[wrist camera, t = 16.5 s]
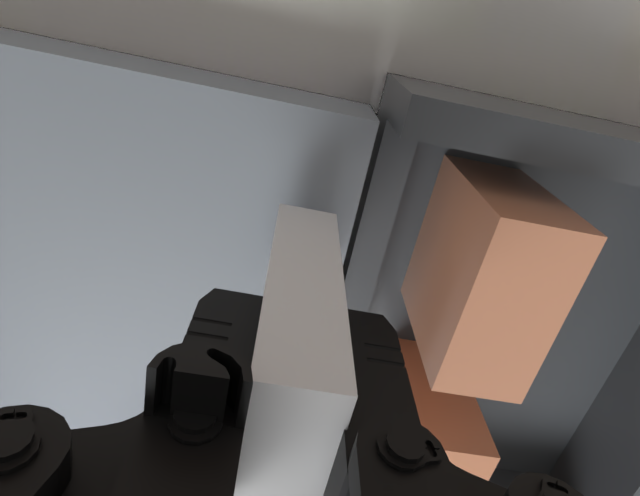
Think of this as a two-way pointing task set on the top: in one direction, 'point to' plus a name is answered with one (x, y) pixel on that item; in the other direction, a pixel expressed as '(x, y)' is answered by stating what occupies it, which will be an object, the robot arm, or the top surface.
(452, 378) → the tile
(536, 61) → the top surface
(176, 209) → the board
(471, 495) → the robot arm
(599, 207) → the box
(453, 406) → the tile
